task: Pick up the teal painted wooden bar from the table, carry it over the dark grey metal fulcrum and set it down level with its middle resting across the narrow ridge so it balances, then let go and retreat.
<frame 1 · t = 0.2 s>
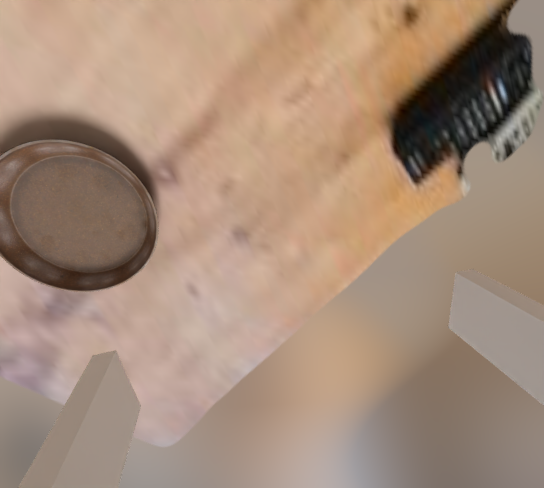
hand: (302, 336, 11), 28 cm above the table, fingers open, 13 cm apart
plant saucer: (86, 216, 34), on the table
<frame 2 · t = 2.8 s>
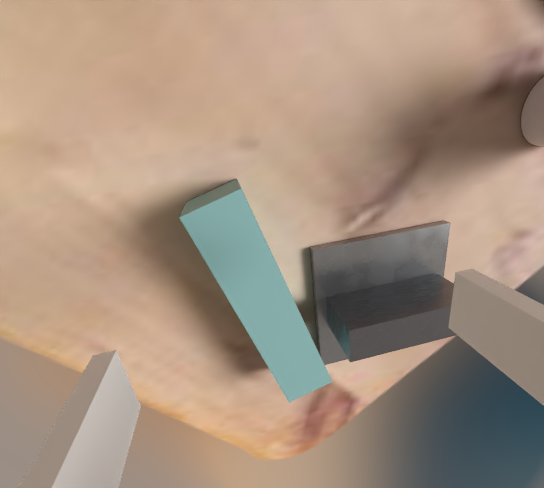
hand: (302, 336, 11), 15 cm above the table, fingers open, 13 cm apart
bar: (260, 284, 27), on the table
fulcrum: (377, 294, 30), on the table
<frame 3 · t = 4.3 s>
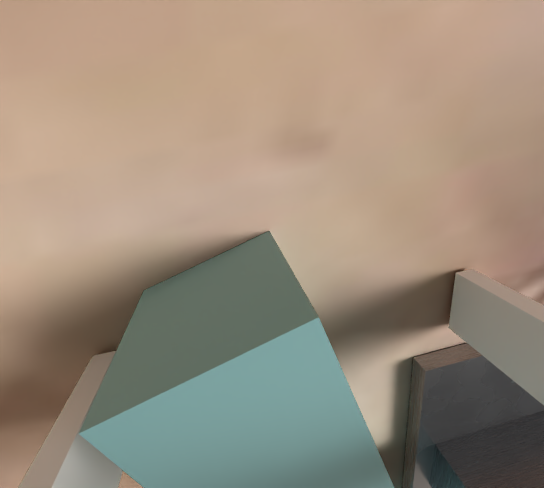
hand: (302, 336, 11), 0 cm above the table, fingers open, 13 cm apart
bar: (307, 425, 13), on the table
fulcrum: (515, 419, 16), on the table
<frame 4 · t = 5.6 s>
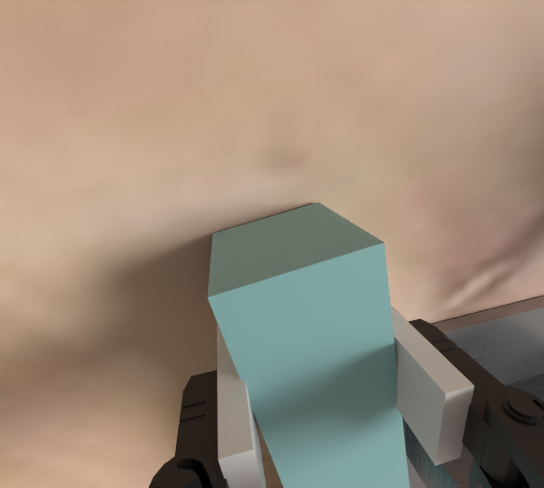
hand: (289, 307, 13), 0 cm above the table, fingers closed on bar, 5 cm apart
bar: (312, 389, 15), on the table, touching gripper
fulcrum: (481, 397, 18), on the table
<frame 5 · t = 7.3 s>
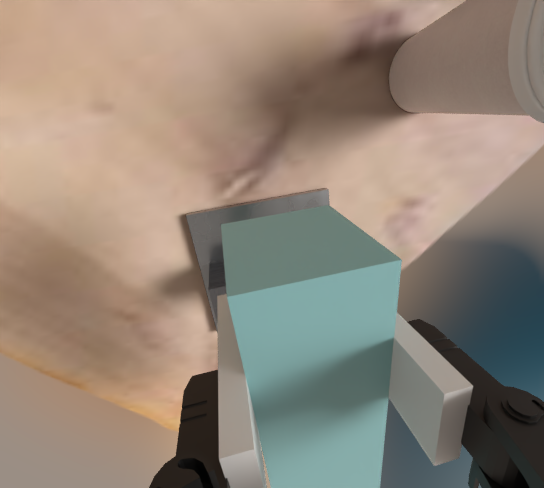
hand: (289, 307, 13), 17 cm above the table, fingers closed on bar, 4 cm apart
bar: (295, 381, 16), point 16 cm above the table, touching gripper
coffee cup: (418, 75, 26), on the table
fulcrum: (268, 263, 30), on the table
when the fingers open (8 cm above the table, at t = 8.7 s): bar stays where it is, resting on fulcrum.
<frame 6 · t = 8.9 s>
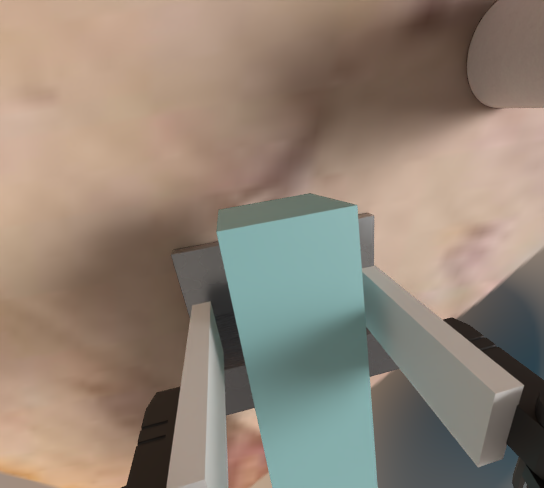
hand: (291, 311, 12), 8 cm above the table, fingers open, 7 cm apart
bar: (293, 372, 16), point 6 cm above the table, tilted 6°, touching fulcrum
coffee cup: (508, 53, 18), on the table
fulcrum: (286, 313, 22), on the table
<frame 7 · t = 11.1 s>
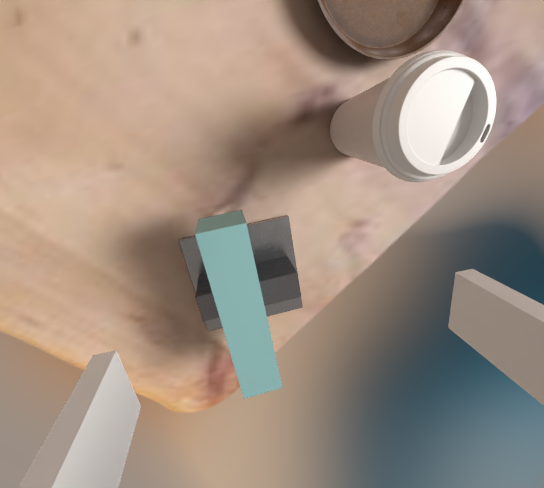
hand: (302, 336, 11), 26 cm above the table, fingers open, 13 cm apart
bar: (241, 296, 32), point 6 cm above the table, touching fulcrum
coffee cup: (354, 128, 34), on the table
fulcrum: (245, 274, 38), on the table
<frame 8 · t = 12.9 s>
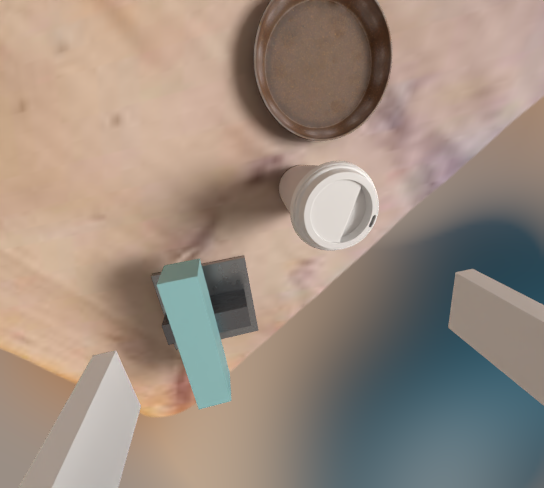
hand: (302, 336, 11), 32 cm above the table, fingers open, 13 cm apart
bar: (200, 324, 39), point 6 cm above the table, touching fulcrum
coffee cup: (299, 187, 42), on the table
fulcrum: (209, 302, 45), on the table
plant saucer: (317, 69, 37), on the table
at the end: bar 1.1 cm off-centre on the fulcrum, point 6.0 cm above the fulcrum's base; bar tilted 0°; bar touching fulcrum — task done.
